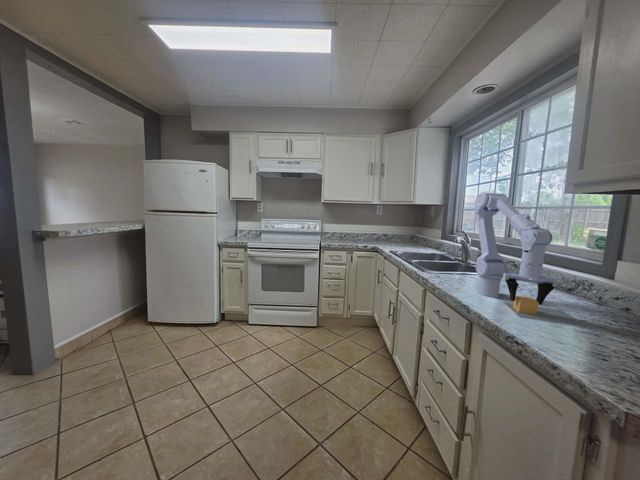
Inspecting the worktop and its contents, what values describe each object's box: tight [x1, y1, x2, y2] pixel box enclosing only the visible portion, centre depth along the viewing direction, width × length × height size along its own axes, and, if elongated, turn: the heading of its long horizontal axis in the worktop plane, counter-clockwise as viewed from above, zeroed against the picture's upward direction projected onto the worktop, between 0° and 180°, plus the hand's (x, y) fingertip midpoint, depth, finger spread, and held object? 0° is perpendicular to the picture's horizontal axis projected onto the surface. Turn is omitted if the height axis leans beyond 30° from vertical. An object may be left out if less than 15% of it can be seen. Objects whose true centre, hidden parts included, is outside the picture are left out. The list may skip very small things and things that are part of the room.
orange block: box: [512, 294, 539, 315], centre depth 85 cm, size 5×5×4 cm
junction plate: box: [503, 301, 591, 329], centre depth 84 cm, size 15×18×1 cm
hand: (525, 301), depth 85 cm, fingers open, 7 cm apart
